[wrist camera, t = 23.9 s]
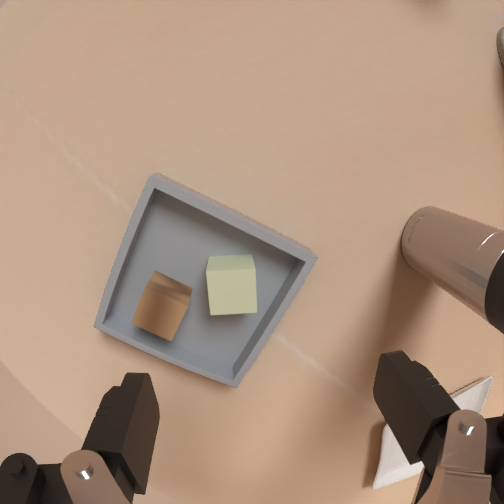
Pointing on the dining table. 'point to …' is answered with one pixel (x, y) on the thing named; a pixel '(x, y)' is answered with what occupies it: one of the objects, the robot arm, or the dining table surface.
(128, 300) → the tray
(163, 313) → the walnut block
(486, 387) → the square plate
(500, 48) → the webcam
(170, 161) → the dining table surface
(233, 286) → the sage block
